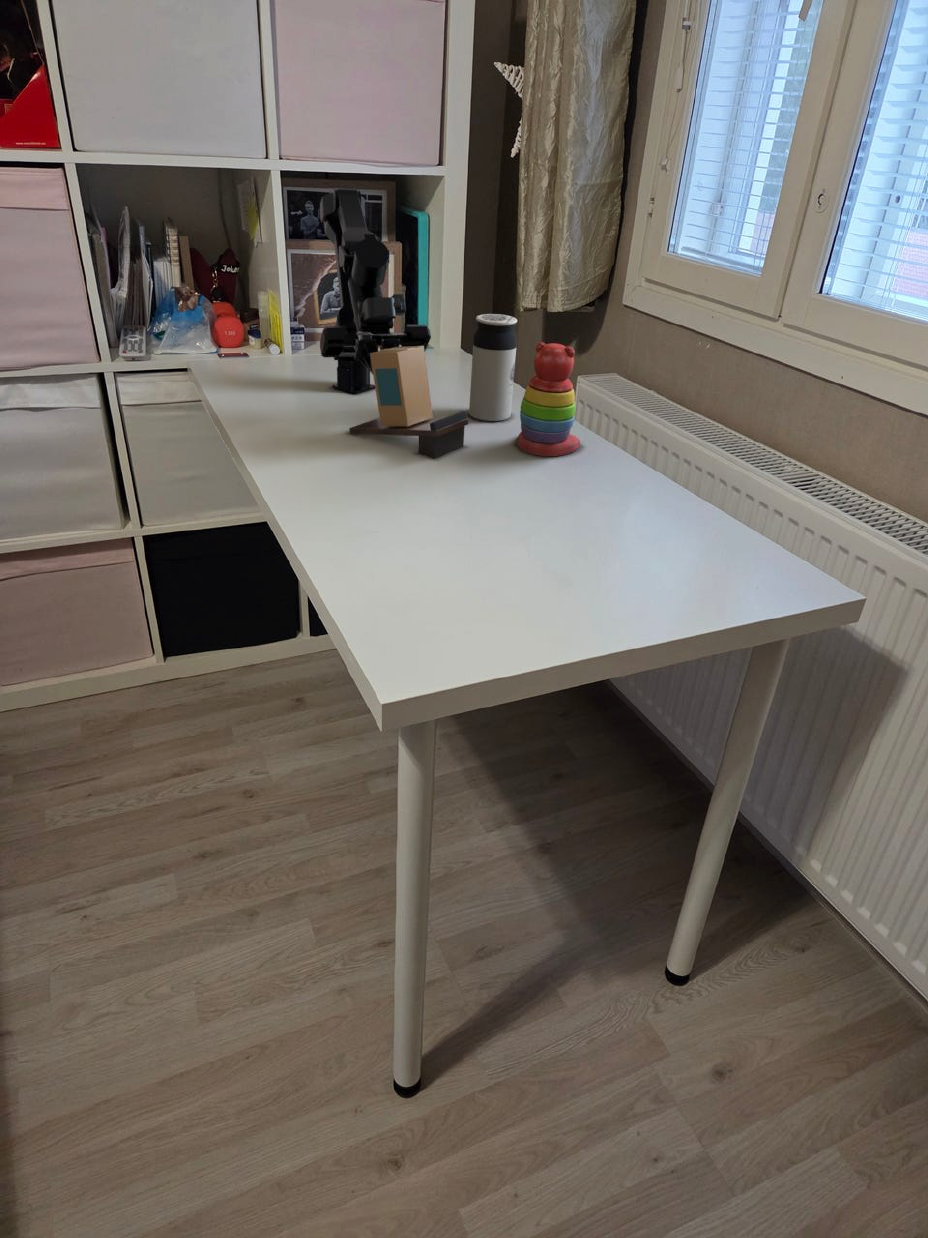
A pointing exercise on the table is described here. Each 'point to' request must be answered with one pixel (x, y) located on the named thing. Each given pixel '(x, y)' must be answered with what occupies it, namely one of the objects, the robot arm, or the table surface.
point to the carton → (401, 385)
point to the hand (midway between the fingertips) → (383, 384)
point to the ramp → (424, 433)
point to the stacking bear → (549, 404)
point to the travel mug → (493, 367)
